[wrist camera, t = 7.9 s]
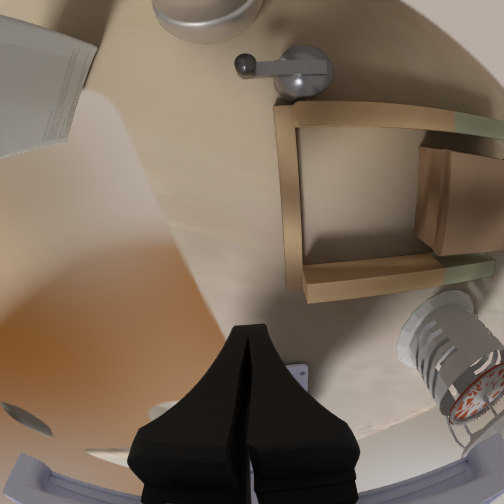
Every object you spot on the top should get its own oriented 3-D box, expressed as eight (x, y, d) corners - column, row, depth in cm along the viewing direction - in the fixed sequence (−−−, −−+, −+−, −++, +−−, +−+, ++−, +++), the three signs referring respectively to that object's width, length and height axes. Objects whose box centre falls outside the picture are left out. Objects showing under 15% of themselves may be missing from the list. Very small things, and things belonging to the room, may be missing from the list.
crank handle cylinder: (320, 101, 18) (347, 89, 12) (242, 106, 18) (237, 93, 12) (315, 61, 17) (340, 34, 11) (238, 65, 17) (231, 36, 11)
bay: (474, 262, 22) (492, 276, 19) (286, 284, 23) (290, 305, 20) (484, 120, 17) (506, 122, 15) (273, 107, 18) (276, 102, 15)
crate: (473, 233, 21) (503, 251, 17) (411, 235, 22) (439, 257, 17) (481, 153, 19) (515, 161, 15) (416, 144, 19) (450, 150, 15)
